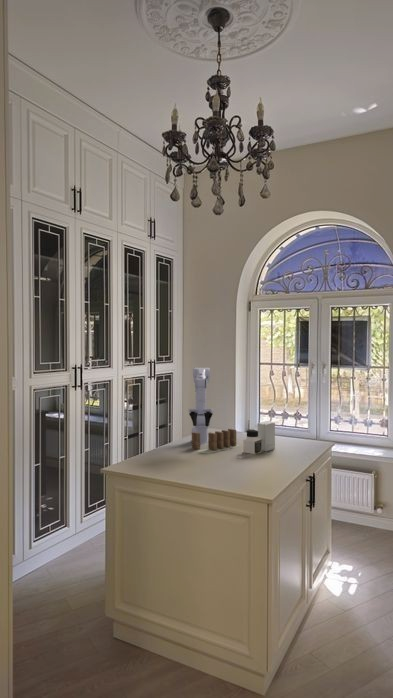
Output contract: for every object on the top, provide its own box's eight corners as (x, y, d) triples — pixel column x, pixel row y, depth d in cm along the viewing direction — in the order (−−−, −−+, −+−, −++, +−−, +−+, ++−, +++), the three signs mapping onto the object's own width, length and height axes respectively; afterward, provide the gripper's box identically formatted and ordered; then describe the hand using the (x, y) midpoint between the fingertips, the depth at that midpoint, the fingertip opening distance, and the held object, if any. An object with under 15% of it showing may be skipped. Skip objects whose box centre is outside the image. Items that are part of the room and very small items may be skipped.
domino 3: (221, 446, 255) (221, 430, 255) (223, 445, 256) (223, 429, 256) (227, 447, 251) (227, 431, 251) (230, 447, 252) (229, 431, 252)
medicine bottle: (254, 454, 238) (254, 431, 237) (243, 452, 242) (243, 430, 242) (261, 452, 244) (261, 429, 243) (250, 449, 248) (250, 427, 247)
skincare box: (267, 447, 254) (267, 420, 253) (275, 449, 249) (275, 422, 248) (256, 449, 248) (256, 422, 248) (265, 451, 244) (265, 424, 243)
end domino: (191, 448, 251) (191, 432, 251) (193, 448, 252) (193, 431, 252) (197, 450, 248) (197, 433, 247) (199, 449, 249) (199, 433, 248)
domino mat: (196, 451, 245) (196, 450, 245) (230, 443, 262) (230, 443, 262) (206, 454, 239) (206, 453, 239) (241, 446, 256) (241, 445, 256)
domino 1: (208, 449, 249) (208, 432, 248) (210, 448, 250) (210, 432, 249) (214, 450, 245) (214, 434, 244) (216, 450, 246) (216, 433, 246)
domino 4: (227, 444, 258) (227, 428, 258) (229, 444, 259) (229, 428, 259) (234, 446, 255) (234, 430, 254) (236, 445, 256) (236, 429, 255)
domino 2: (215, 447, 252) (215, 431, 252) (217, 447, 253) (217, 431, 253) (221, 449, 248) (221, 432, 248) (223, 448, 249) (223, 432, 249)
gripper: (185, 400, 248) (185, 426, 246) (208, 400, 240) (208, 426, 239) (192, 400, 254) (192, 425, 252) (215, 400, 246) (215, 426, 245)
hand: (200, 426), depth 246 cm, fingers open, 7 cm apart
